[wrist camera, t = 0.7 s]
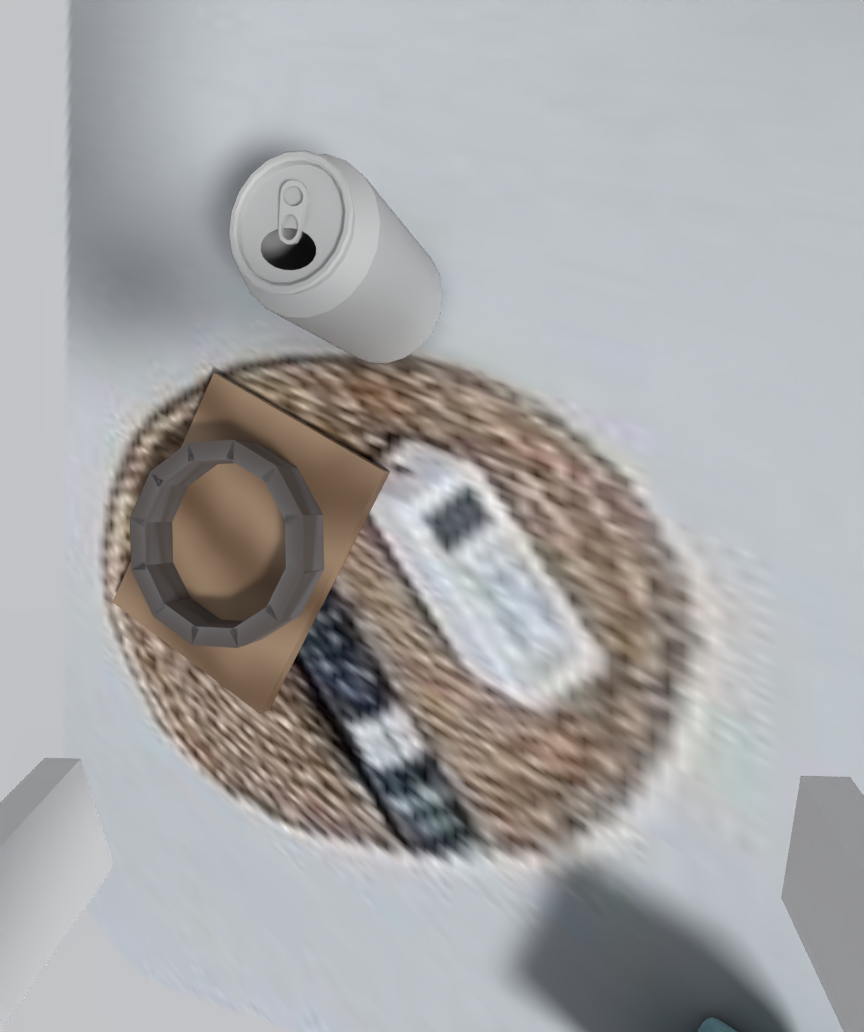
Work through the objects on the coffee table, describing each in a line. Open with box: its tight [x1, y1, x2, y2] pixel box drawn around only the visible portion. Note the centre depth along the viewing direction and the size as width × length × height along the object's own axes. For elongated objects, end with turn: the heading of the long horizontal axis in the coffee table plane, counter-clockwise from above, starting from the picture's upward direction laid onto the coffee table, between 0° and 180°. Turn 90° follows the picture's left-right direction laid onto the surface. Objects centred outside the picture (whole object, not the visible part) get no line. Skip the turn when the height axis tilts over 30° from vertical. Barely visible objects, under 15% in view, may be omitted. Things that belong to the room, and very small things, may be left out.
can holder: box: [113, 373, 390, 714], centre depth 40 cm, size 18×14×4 cm
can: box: [229, 151, 443, 363], centre depth 32 cm, size 8×8×12 cm
